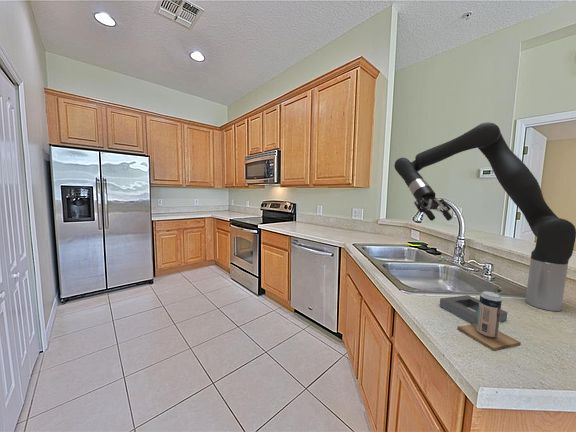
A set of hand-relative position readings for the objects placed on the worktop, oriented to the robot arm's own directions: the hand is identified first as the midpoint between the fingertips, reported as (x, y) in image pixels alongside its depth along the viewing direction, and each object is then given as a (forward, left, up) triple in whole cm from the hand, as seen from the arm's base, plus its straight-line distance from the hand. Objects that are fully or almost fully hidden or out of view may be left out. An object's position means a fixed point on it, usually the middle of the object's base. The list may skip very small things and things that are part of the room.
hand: (441, 219), depth 95 cm
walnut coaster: (+12, +29, -31) cm, 44 cm away
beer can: (+12, +28, -30) cm, 43 cm away
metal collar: (+3, +17, -31) cm, 35 cm away
